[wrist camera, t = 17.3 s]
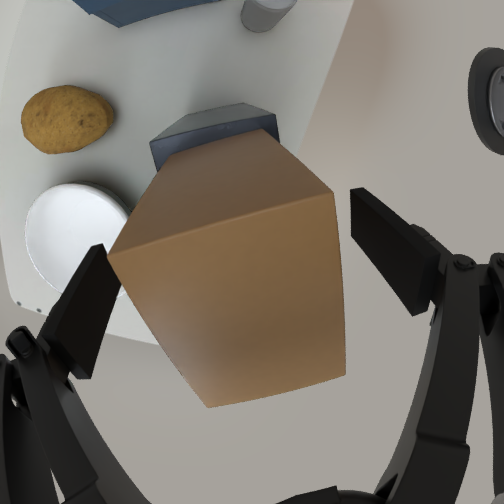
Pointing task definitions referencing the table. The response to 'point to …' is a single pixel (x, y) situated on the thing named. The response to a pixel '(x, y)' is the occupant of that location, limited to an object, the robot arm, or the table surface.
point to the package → (238, 269)
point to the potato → (65, 119)
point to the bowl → (71, 228)
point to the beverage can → (264, 13)
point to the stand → (211, 129)
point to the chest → (142, 10)
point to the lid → (95, 4)
